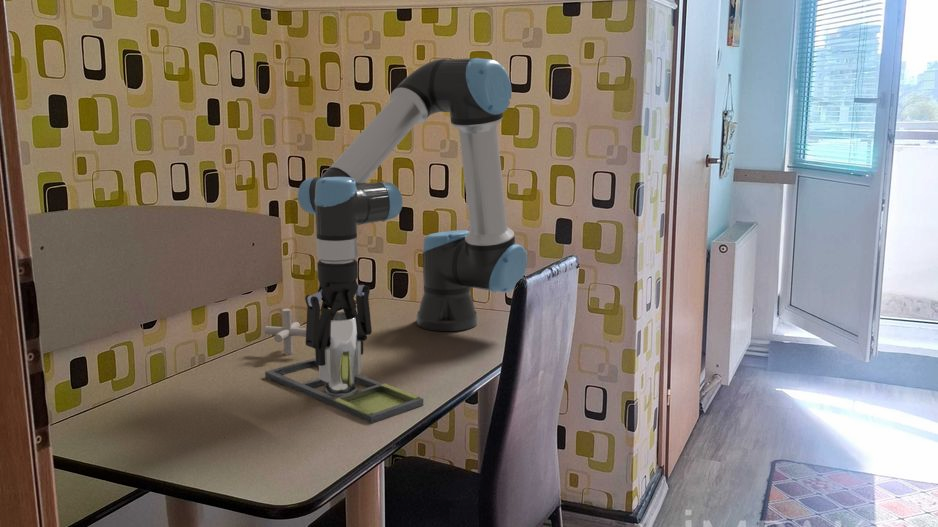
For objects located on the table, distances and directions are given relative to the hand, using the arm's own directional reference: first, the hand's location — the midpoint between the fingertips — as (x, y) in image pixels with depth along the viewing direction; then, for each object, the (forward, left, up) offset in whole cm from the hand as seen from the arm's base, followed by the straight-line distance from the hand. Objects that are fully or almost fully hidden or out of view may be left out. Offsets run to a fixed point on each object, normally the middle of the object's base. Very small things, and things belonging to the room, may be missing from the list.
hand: (340, 375), depth 167 cm
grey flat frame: (0, 0, -3) cm, 3 cm away
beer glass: (0, 0, -3) cm, 3 cm away
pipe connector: (-6, -27, -3) cm, 28 cm away
